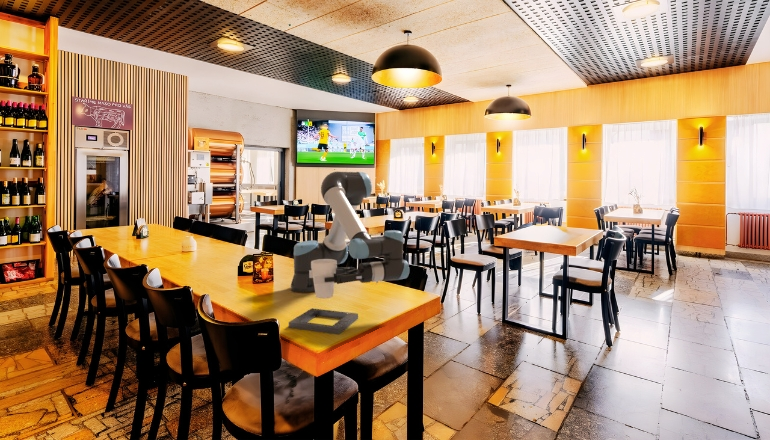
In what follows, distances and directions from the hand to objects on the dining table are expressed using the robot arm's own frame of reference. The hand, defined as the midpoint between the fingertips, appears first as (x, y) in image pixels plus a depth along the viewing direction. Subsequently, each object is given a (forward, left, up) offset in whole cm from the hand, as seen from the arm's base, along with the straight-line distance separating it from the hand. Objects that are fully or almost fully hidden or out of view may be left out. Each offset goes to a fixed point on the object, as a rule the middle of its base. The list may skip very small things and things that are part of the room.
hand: (312, 277), depth 145 cm
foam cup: (+4, +3, -8) cm, 9 cm away
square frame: (+3, +3, -18) cm, 18 cm away
